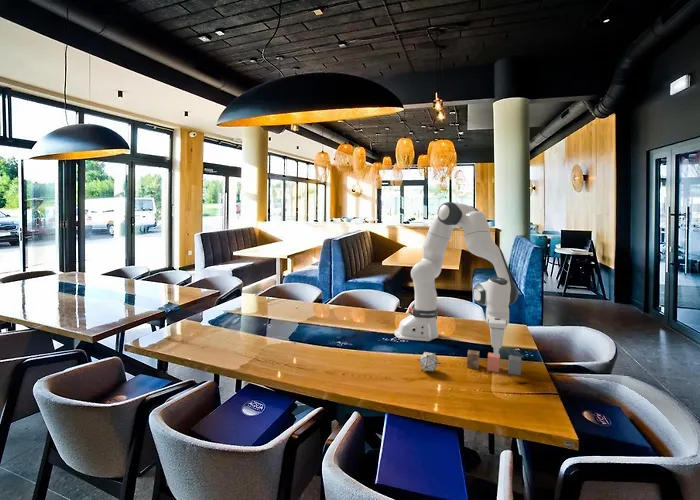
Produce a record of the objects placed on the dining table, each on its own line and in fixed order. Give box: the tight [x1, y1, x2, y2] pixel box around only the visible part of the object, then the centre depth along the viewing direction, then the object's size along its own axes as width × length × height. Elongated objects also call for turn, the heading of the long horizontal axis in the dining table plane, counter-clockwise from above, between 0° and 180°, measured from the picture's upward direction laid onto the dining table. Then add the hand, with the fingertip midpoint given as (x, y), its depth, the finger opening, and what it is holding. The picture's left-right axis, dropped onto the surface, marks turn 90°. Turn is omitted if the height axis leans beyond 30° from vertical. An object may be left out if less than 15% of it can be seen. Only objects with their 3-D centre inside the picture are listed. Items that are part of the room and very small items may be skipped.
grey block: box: [507, 354, 522, 376], centre depth 158 cm, size 4×4×6 cm
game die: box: [416, 350, 442, 374], centre depth 158 cm, size 9×8×10 cm
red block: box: [486, 352, 501, 373], centre depth 161 cm, size 4×4×6 cm
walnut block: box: [466, 349, 480, 370], centre depth 164 cm, size 4×4×6 cm
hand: (496, 351), depth 160 cm, fingers open, 8 cm apart
